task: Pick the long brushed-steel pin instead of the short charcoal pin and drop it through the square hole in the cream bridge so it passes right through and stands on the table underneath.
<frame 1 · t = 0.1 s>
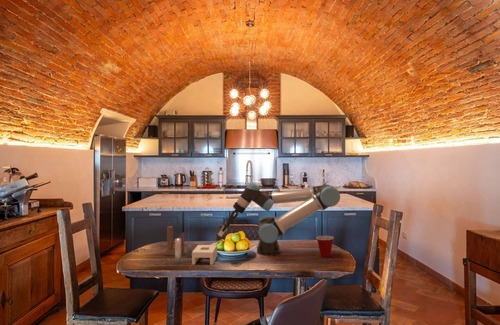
hand: (221, 232, 196), 15 cm above the table, tool tilted 35°, fingers open, 13 cm apart
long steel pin: (178, 262, 188), on the table
plastic cup: (324, 256, 199), on the table
short charcoal pin: (189, 256, 200), on the table
bridge: (205, 260, 192), on the table
brown wooden bracket: (175, 255, 203), on the table
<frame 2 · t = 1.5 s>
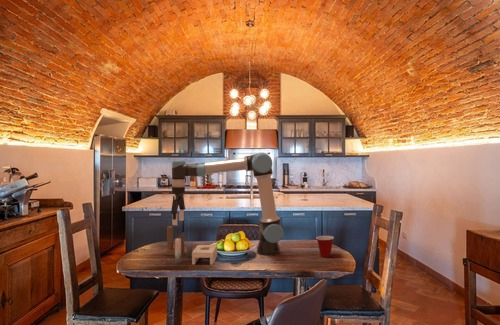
hand: (178, 222, 188), 23 cm above the table, tool pointing down, fingers open, 13 cm apart
nothing on the table moved.
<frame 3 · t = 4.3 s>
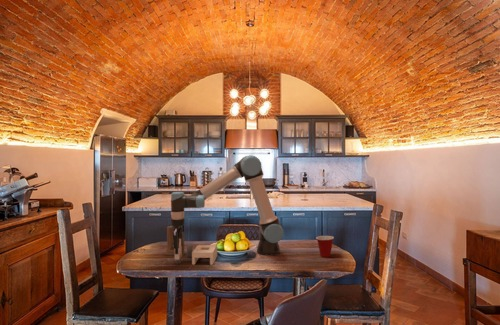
hand: (178, 258, 188), 3 cm above the table, tool pointing down, fingers closed on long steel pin, 3 cm apart
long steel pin: (178, 262, 188), on the table, touching gripper
everything else where it was.
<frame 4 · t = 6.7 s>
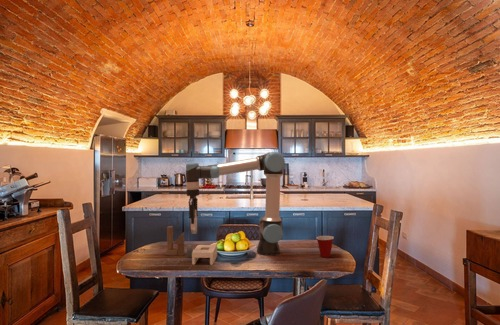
hand: (194, 228, 190), 20 cm above the table, tool pointing down, fingers closed on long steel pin, 3 cm apart
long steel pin: (194, 233, 190), point 17 cm above the table, touching gripper
everything else where it was.
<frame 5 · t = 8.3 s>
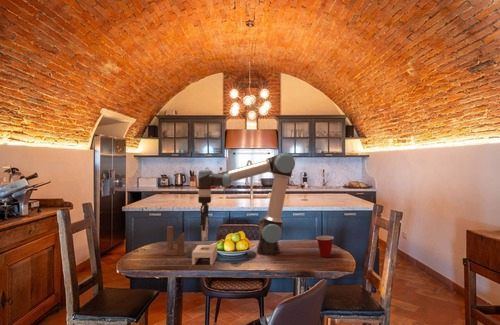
hand: (204, 235, 192), 15 cm above the table, tool pointing down, fingers closed on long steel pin, 3 cm apart
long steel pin: (204, 240, 192), point 12 cm above the table, touching gripper
everything else where it was.
when the fingers open (9 cm above the table, at t = 9.6 s): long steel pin drops 5 cm, on the table.
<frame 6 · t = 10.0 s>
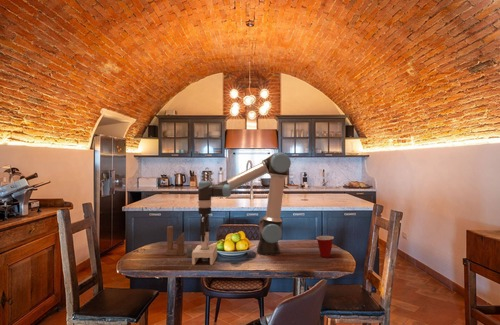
hand: (205, 244, 192), 9 cm above the table, tool pointing down, fingers open, 9 cm apart
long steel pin: (205, 260, 192), on the table
everything else where it was.
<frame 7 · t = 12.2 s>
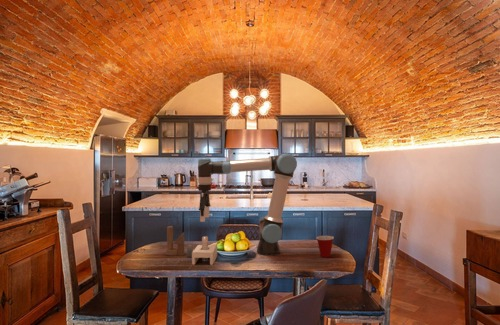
hand: (204, 219, 192), 25 cm above the table, tool pointing down, fingers open, 13 cm apart
nothing on the table moved.
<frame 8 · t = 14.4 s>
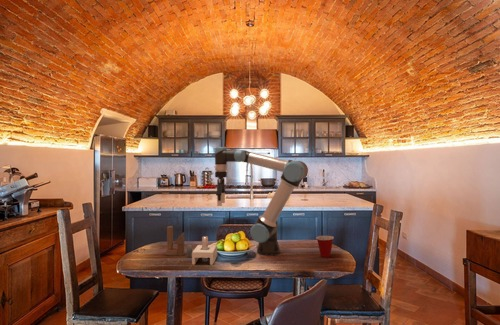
hand: (221, 204, 204), 32 cm above the table, tool pointing down, fingers open, 13 cm apart
nothing on the table moved.
at the end: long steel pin 0.0 cm off-centre on the bridge, point 0.0 cm above the bridge's base; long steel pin tilted 0°; short charcoal pin moved 0.0 cm from its start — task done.
